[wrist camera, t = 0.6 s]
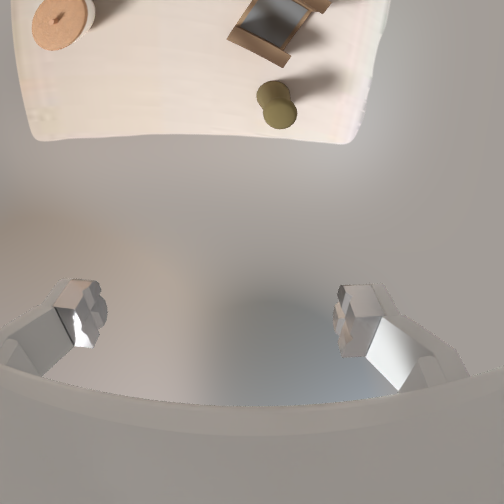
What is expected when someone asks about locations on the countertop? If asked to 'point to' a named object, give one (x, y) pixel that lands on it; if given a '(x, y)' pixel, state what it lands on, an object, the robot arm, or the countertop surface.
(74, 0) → the lidded jar
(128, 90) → the countertop surface
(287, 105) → the olive green bulbous cylinder
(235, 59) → the countertop surface
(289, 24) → the holder
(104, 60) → the countertop surface
